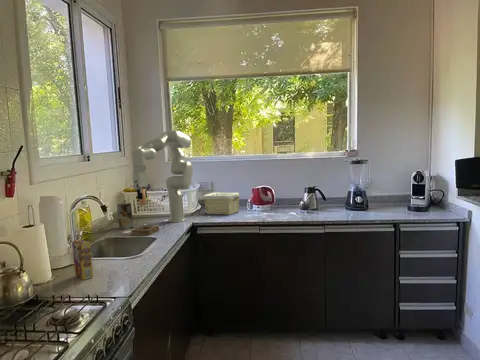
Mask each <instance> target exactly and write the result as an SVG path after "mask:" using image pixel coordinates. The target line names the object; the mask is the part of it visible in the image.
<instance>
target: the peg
mask: <svg viewBox="0 0 480 360" xmlns="http://www.w3.org/2000/svg"><path fill="white" fill-rule="evenodd" d="M139 190H140V189H139ZM141 193H142V196H143V199H138V202H139V206H140V207H141V206H146V205H147V198H146V197H145V189H142V190H141Z"/></svg>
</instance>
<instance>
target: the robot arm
mask: <svg viewBox="0 0 480 360" xmlns="http://www.w3.org/2000/svg"><path fill="white" fill-rule="evenodd" d="M191 145H192V139H191V138H190V136H189V135H187V134H186V133H183V132H182V131H179V130H175V129H174V130H166V131H163V132H162V133H161V134H160V135H158V136H157V137H156V138H153V139H152V140H149V141H147V142H145V143H143V144H141V145H139V146H137V148H134V149H132V150H131V157H132V158H131V159H132V167H133V172H132V187H133V189H134V190H135V192H136V194H137V200H139V199H143V196H142V193H141V190H142V189H145V197H146V199H147V198H148V194H147V193H148V192H147V191H148V188H149V178H148V173H147V166H146V165H147V163H146V161H151V160H153V159H155V158H156V156H157V152H160V151H162V150H164V149H165V148H166V147H168V146H169V149H171V152H172V159H171V165H170V173H171V174H172V176H169V177H167V179H166V180H165V185H166V189H167V195H168V203H169V204H168V205H169V207H168V208H169V215H170V216H169V217H170V218H168V222H169V223H180V222H184V221H187V217H185V216H186V212H185V211H184V200H183V194H182V191H181V190H183V191H185V190H188V189H189V188H190V187H191V183H192V177H193V171H194V168H193V164H192V162H190V161H185V158H186V157H185V153H184V151H183V149H188V148H190V147H191ZM139 189H140V190H139Z"/></svg>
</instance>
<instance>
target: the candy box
mask: <svg viewBox="0 0 480 360" xmlns="http://www.w3.org/2000/svg"><path fill="white" fill-rule="evenodd" d="M71 245H72V256H73V258H72V259H73V266H74V276H75V277H76V278H78V279H81V280H84V281H86V280H89V279H91V278H94V274H93V263H92V250H91V242H90V241H87V240H84V239H76V240H72V241H71Z"/></svg>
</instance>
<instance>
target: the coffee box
mask: <svg viewBox="0 0 480 360" xmlns="http://www.w3.org/2000/svg"><path fill="white" fill-rule="evenodd" d="M116 207H117V208H116V209H117V215H118V216H117V217H118V226H119V228H118V229H120V228H125V229H131V228H130V227H133V228H134V218H133V210H132V209H133V208H132V203H131V202H128V203H120V204H119V203H118V204H117V206H116Z"/></svg>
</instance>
